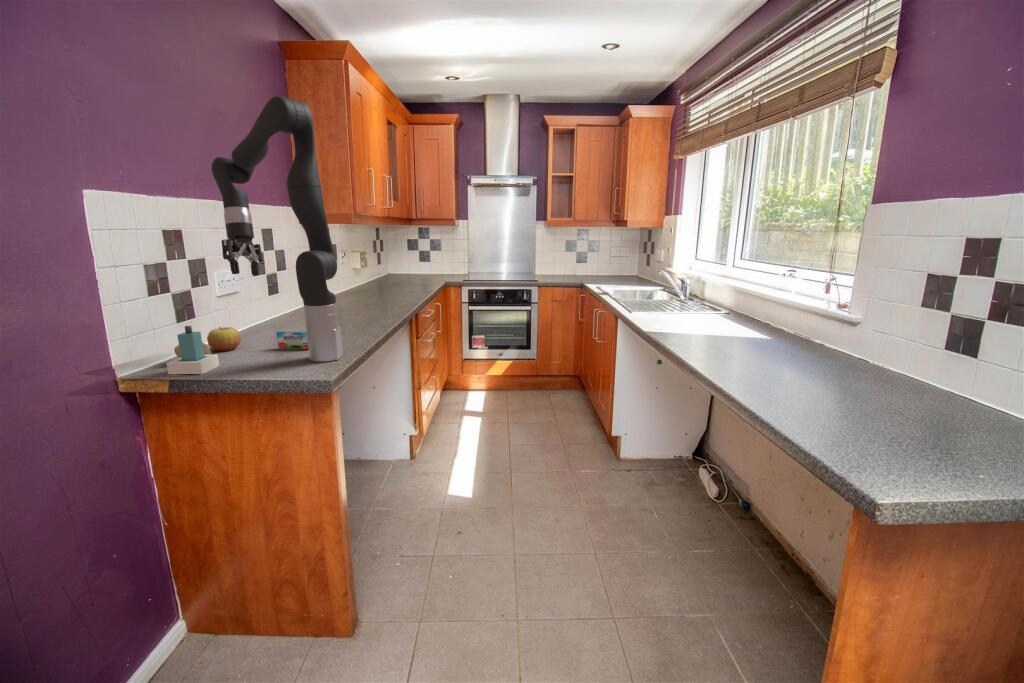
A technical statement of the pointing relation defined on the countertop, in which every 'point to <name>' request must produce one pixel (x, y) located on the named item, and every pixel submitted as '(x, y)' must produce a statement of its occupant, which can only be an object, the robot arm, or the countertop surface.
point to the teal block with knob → (190, 345)
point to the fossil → (205, 348)
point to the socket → (193, 365)
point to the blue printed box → (292, 340)
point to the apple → (224, 339)
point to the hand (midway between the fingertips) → (246, 274)
